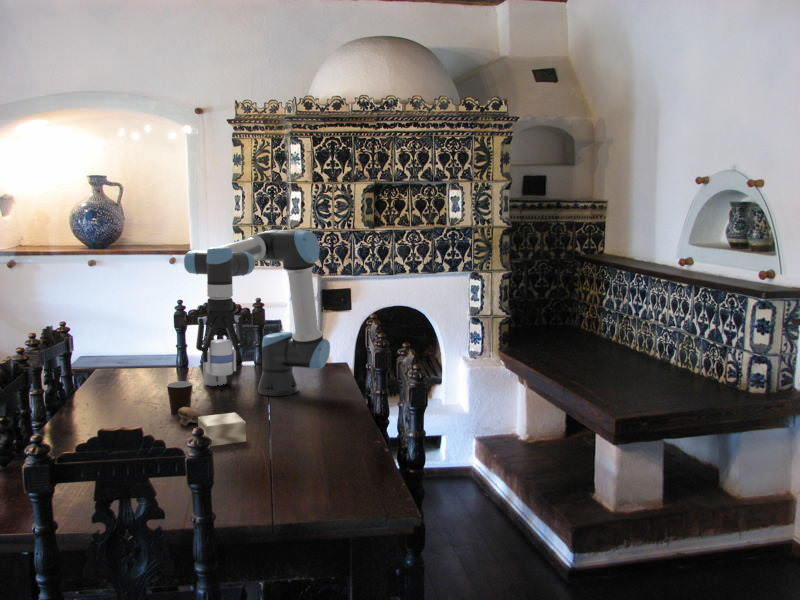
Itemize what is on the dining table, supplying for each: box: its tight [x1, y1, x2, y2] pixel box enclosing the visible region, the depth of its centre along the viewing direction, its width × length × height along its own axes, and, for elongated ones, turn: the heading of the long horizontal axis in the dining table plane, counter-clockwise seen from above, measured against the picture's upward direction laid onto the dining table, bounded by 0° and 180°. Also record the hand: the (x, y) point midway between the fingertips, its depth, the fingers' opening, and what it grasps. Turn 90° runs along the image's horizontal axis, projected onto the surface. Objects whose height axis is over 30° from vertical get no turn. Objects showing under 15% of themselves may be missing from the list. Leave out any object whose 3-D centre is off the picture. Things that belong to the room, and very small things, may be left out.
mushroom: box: [178, 406, 201, 426], centre depth 249 cm, size 8×8×6 cm
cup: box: [202, 361, 228, 387], centre depth 306 cm, size 9×9×12 cm
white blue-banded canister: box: [208, 338, 234, 376], centre depth 232 cm, size 7×7×10 cm
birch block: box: [197, 412, 247, 447], centre depth 234 cm, size 12×12×6 cm
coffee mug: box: [166, 381, 194, 416], centre depth 265 cm, size 12×9×10 cm
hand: (221, 371), depth 232 cm, fingers closed on white blue-banded canister, 7 cm apart
